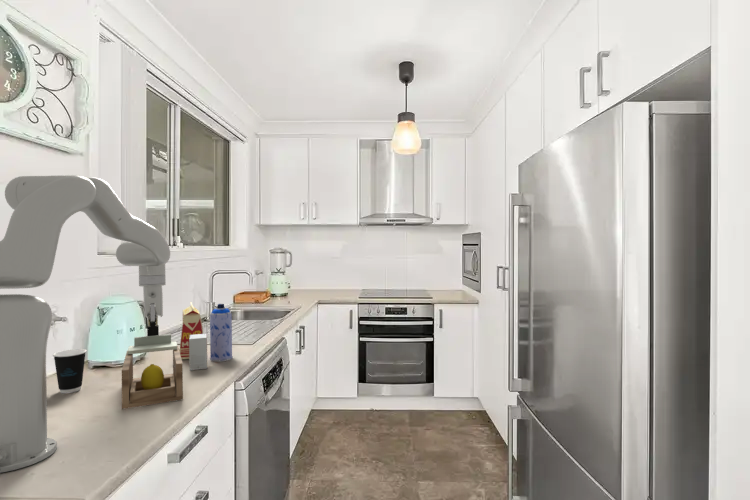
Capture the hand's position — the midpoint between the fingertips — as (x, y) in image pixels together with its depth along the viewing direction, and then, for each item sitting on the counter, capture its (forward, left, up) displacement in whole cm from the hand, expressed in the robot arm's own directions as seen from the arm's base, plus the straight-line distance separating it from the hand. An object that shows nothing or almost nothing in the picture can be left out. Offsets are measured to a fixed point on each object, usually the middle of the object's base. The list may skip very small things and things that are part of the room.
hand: (153, 338), depth 136 cm
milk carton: (+24, -4, -12) cm, 27 cm away
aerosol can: (+19, -16, -12) cm, 28 cm away
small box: (+9, -11, -12) cm, 19 cm away
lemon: (-21, -8, -11) cm, 25 cm away
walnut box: (-15, -6, -12) cm, 20 cm away
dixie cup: (-12, +18, -12) cm, 25 cm away
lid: (-7, -3, -2) cm, 8 cm away
